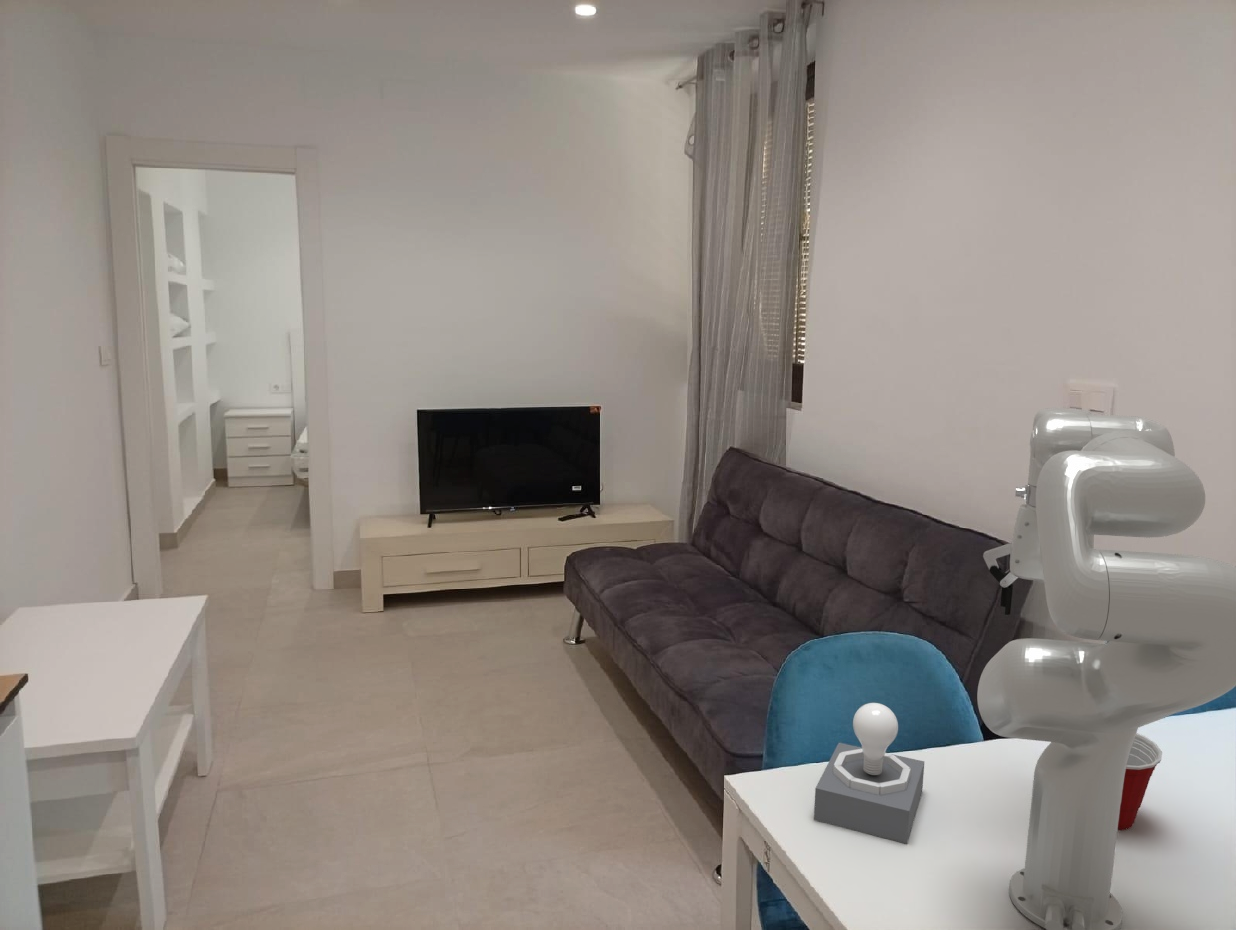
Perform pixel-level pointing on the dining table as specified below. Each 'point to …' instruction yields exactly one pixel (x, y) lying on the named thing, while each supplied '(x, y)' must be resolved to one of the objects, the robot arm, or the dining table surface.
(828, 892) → the dining table surface
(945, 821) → the dining table surface
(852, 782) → the octagon ring base plate
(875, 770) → the lightbulb
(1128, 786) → the plastic cup
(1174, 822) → the dining table surface
